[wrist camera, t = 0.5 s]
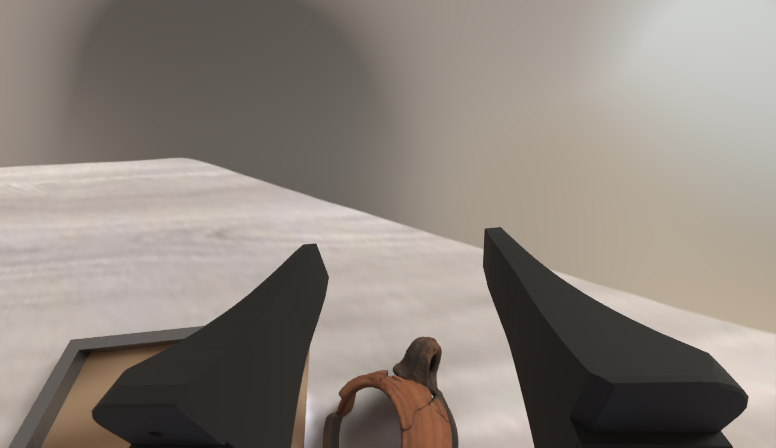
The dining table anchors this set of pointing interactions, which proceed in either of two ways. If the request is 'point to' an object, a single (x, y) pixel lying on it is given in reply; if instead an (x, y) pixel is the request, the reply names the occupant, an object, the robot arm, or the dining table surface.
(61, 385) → the curbs
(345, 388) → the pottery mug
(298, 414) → the brown flat board
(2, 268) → the dining table surface
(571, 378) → the robot arm
